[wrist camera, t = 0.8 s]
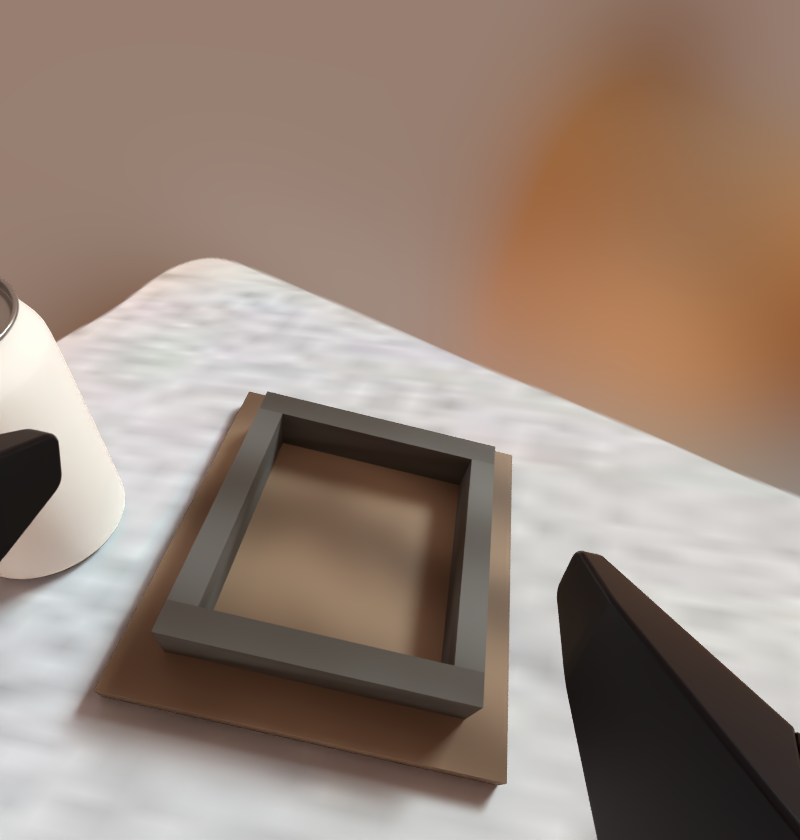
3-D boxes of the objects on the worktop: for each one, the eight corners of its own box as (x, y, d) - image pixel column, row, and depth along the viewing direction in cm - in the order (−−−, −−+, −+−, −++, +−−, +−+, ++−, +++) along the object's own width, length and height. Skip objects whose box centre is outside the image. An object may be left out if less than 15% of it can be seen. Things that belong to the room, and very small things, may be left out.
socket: (498, 785, 20) (531, 778, 17) (101, 696, 19) (71, 674, 17) (506, 464, 30) (527, 429, 27) (250, 402, 30) (246, 360, 27)
